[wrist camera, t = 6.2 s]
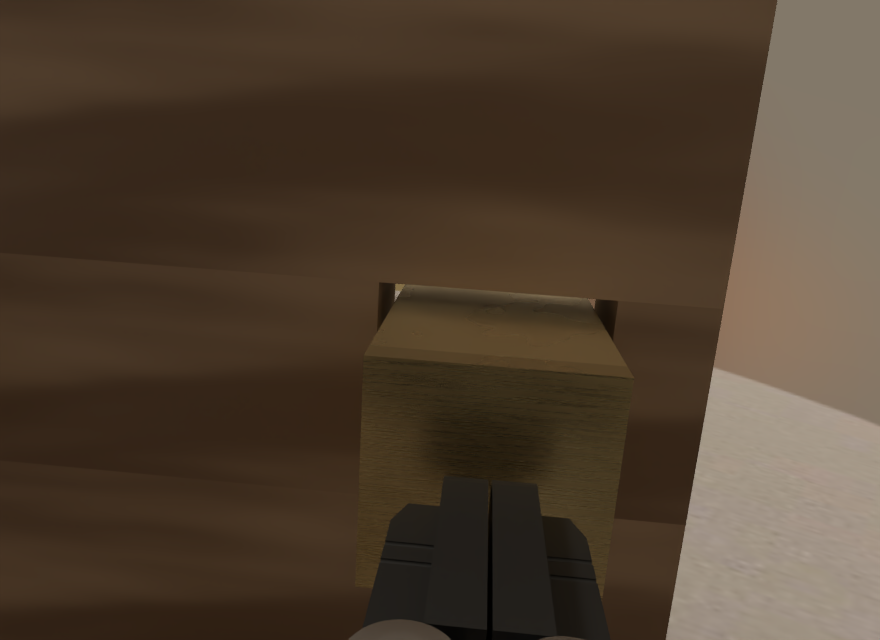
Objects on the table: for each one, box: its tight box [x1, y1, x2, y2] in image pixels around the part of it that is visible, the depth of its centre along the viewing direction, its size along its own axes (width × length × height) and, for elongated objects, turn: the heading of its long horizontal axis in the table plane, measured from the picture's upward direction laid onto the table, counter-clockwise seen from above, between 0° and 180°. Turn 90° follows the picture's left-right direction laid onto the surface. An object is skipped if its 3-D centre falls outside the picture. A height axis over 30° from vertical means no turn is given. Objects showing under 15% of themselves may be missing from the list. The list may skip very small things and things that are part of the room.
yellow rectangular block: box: [355, 284, 634, 601], centre depth 16 cm, size 8×5×5 cm, turn 176°
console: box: [0, 0, 777, 640], centre depth 20 cm, size 8×26×20 cm, turn 86°
